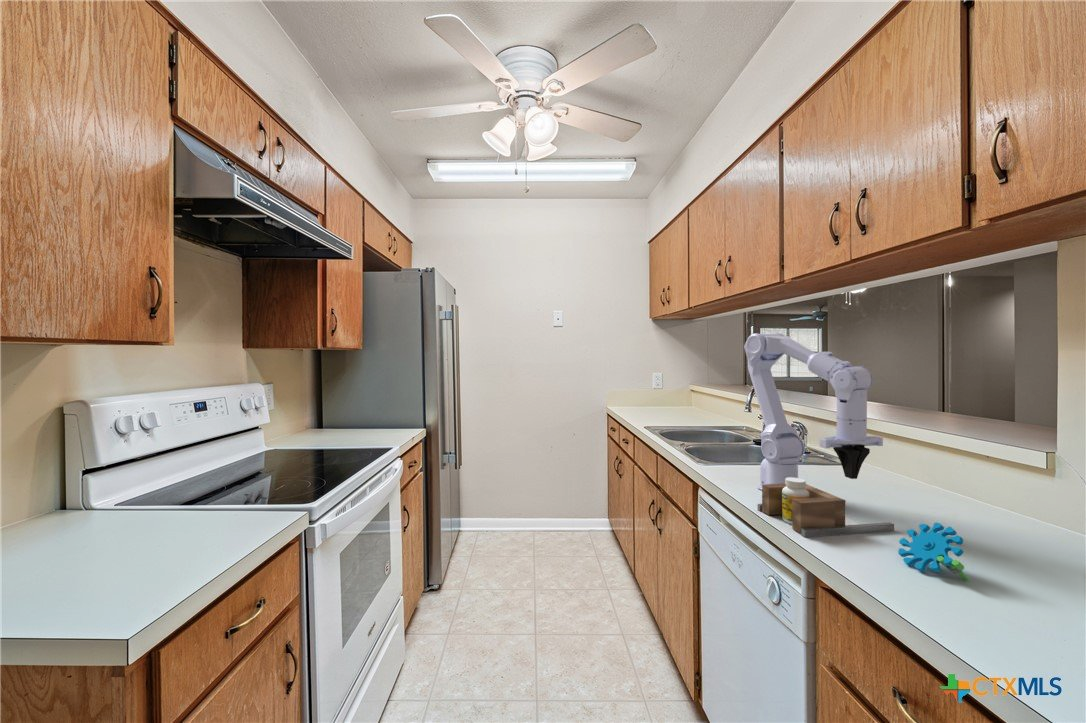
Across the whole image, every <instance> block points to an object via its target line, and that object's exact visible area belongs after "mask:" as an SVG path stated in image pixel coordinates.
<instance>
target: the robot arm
mask: <svg viewBox="0 0 1086 723" xmlns="http://www.w3.org/2000/svg"><path fill="white" fill-rule="evenodd" d="M743 349H744V352H745V355H746V359H747V370H748V373H749V376H750V380H751V382H752V386H753V389H754V393H755V397H756V399H757V403H758V406H759V408H760V412H761V415H762V416H761V417H762V419H763V423H764V426H765V428H763V431H762V432H761V433H760V436H759V438H760V440H761V444H760V445H761V446H760V448H761V453H762V455H763V457H764V458H763V459H762V461H761V463H760V466H759V467H760V468H759V471H760V472H759V478H760V480H759V485H757V486H756V487H757V489H759V490H761V491H762V484H781V483H785V479H786V478H789V477H793V478H799V462H800V461H801V458H802V457H803V456H804V454H805V452H806V446H805V442H804V441H803V440H802V438H801V437H800V436H799V434H798V430H797V429H796V428H795V427H793V426H792V425H790V424H789V423H788V421H787V418H786V414H785V411H784V408H783V405H782V402H781V398H780V395H779V393H778V389H777V386H776V384H775V380H774V376H773V373H772V370H771V369H772V367H774V365H775V364H776V363H777V362H778V361H779V360H780V359H781V358H782V357H783V356H784V355H786V356H788V357H790V358H792V359H795V360H797V361H799V362H801V363H803V364H805V365H807V368H808V371H809V372H810V373H812V374H814V375H816V376H817V377H819V378H822V379H823V380H825V381H827V382H829V383H830V385H831V387H832V388H833V390H834V393H835V394H834V396H835V397H836V431H835V432H836V435H835V436H830V437H824V438H823V437H822V438H819V447H820V448H824V449H830V448H832V449H833V451H834V452H835V453H836V456H838V459H839V461H840V464H841V466H842V469H843V473H844V477H846V478H848V479H851V480H856V479H858V476H859V473H860V471H861V468H862V465H863V464H864V462H865V460H866V459H867V457H868V456H869V454H870V453H871V452H870V451H871V449H870V448H868V447H871V446H877V447H884V446H883V445H884V438H883V437H881V436H876V435H871V436H869V435H868V433H867V430H868V426H867V425H868V423H867V422H868V421H867V420H868V419H867V418H868V417H867V416H868V390H870V388H871V387H872V386H873V383H874V376H873V373H872V372H871V371H870V370H869V369H867V368H866V367H865V366H862V365H859V366H858V365H857V366H853V365H852V363H851V362H850V361H848V360H845V361H844V360H842V359H839V358H837V357H836V356H834V353H833V352H831V351H818V352H814V351H812V349H809V348H807V347H806V346H804V345H803V344H800V343H799V342H797V341H795V340H794V339H792V338H791V337H790V336H788V335H785V334H783V333H780V332H779V333H752V334H750V335H749V336H748V337H747V339H746V341H745V343H744V346H743Z"/></svg>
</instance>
